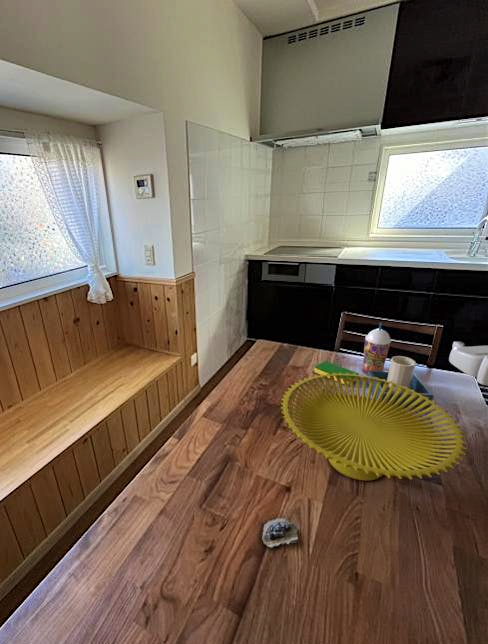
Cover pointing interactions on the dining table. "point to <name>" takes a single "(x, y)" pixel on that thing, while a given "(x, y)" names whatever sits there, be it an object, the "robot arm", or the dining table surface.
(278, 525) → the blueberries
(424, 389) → the basin
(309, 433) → the yellow slatted bowl
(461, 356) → the robot arm
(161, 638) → the dining table surface
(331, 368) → the dish sponge
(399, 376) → the cup
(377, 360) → the smoothie
